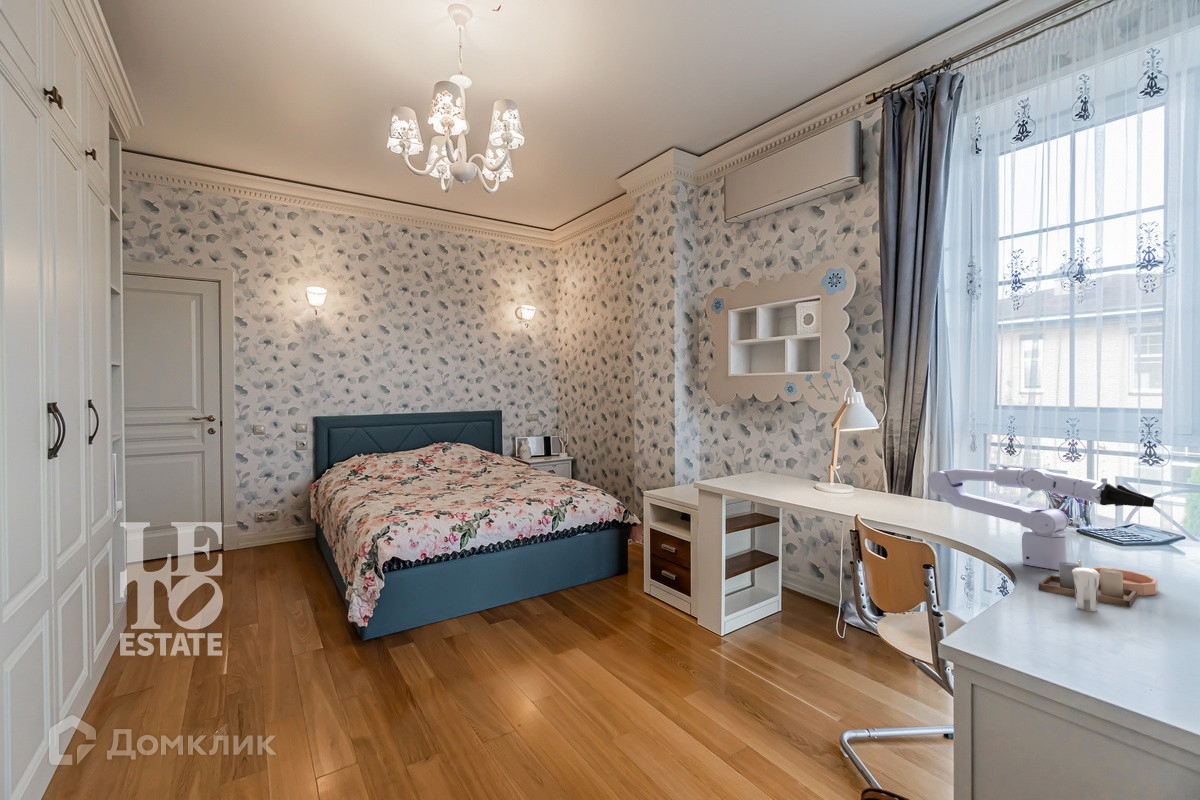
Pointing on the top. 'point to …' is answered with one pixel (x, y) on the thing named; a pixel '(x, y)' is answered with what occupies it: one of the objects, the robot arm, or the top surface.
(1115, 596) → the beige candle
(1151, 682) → the top surface
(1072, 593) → the tray
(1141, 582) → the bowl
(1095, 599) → the milkshake
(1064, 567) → the grey cylinder
